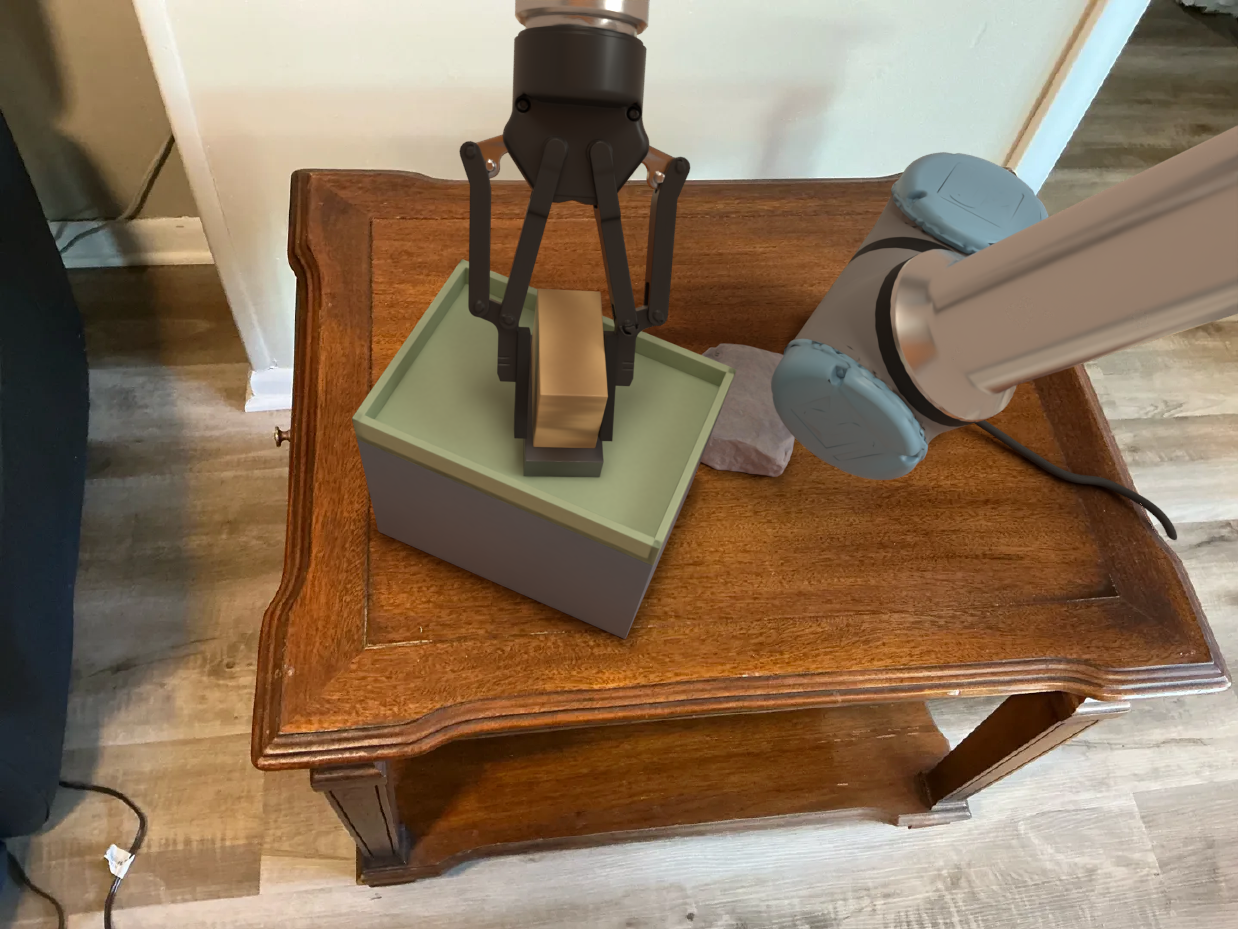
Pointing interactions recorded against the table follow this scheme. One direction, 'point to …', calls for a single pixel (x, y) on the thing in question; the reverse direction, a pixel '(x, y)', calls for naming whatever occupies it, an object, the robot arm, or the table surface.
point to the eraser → (566, 386)
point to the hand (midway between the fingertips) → (562, 434)
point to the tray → (493, 459)
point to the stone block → (748, 416)
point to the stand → (508, 542)
